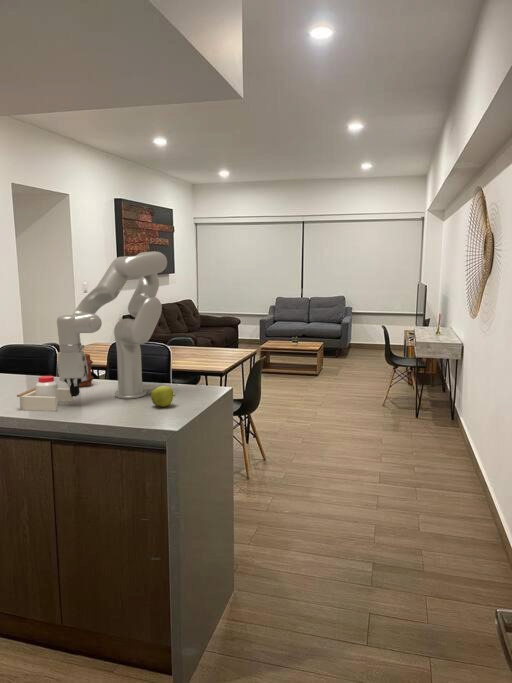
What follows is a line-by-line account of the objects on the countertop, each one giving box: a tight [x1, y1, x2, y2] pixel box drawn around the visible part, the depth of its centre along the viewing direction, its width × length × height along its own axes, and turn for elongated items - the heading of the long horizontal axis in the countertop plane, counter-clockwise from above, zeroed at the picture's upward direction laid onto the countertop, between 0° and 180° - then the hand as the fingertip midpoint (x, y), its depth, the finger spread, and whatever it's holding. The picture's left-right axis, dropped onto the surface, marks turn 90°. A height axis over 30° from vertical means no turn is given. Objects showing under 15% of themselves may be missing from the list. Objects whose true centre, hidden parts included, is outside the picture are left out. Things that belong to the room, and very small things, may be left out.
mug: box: [73, 353, 95, 388], centre depth 227 cm, size 15×8×15 cm, turn 58°
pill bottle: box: [34, 375, 59, 407], centre depth 192 cm, size 8×8×11 cm
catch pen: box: [16, 387, 74, 412], centre depth 193 cm, size 14×14×6 cm
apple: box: [150, 385, 176, 408], centre depth 191 cm, size 8×9×8 cm
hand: (75, 395), depth 193 cm, fingers closed
